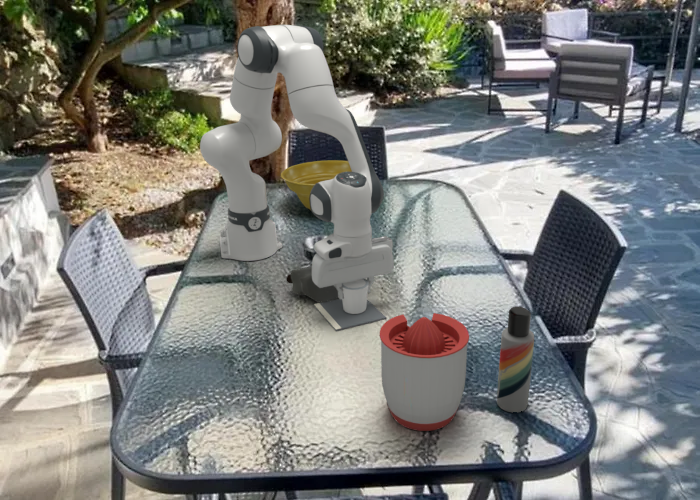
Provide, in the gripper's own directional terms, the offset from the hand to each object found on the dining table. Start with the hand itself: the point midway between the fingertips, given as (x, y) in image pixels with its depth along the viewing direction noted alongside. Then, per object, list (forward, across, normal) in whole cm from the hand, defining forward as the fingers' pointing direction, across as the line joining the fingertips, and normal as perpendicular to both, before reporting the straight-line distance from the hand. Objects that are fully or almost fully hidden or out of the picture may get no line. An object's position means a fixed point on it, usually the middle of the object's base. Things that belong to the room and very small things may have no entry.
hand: (354, 295), depth 154 cm
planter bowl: (+5, -24, -76) cm, 80 cm away
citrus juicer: (+4, +5, +41) cm, 42 cm away
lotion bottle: (+4, -11, +47) cm, 49 cm away
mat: (+4, +2, 0) cm, 4 cm away
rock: (+5, +2, -14) cm, 15 cm away
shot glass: (+4, 0, 0) cm, 4 cm away
